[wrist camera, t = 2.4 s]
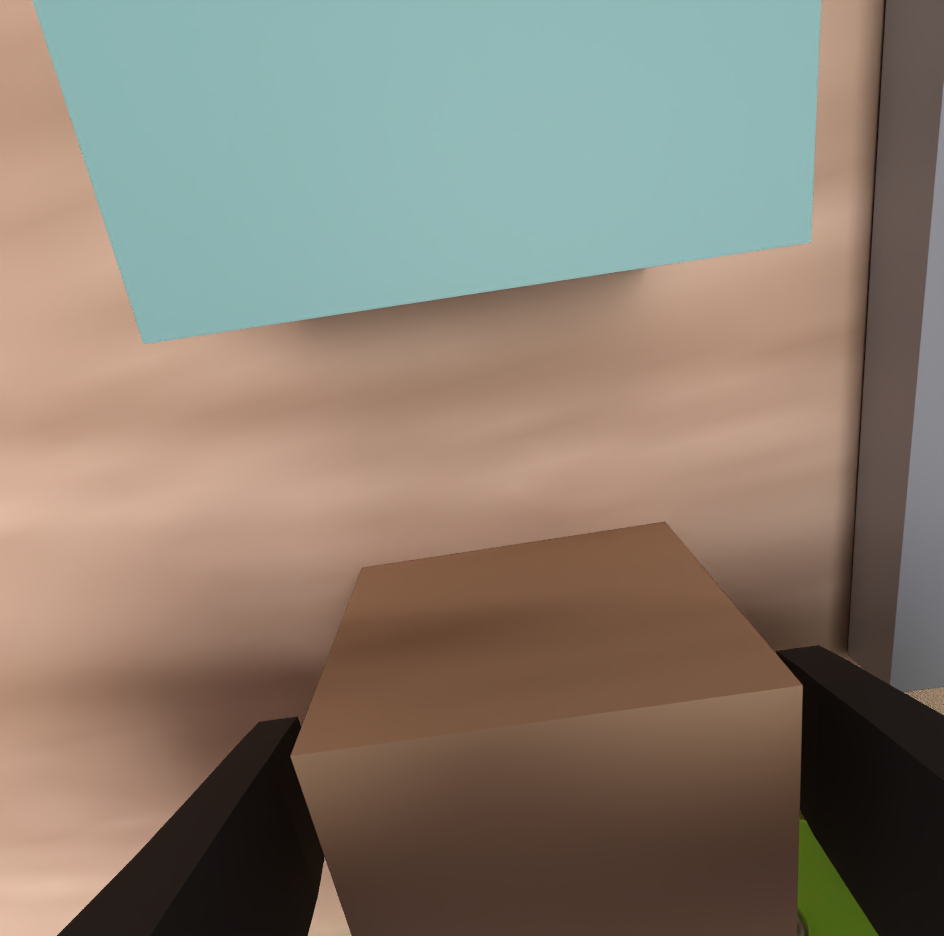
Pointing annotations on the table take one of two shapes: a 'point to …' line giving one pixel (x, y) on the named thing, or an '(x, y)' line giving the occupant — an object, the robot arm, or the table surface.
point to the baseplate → (904, 370)
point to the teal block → (428, 144)
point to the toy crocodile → (825, 895)
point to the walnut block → (555, 748)
